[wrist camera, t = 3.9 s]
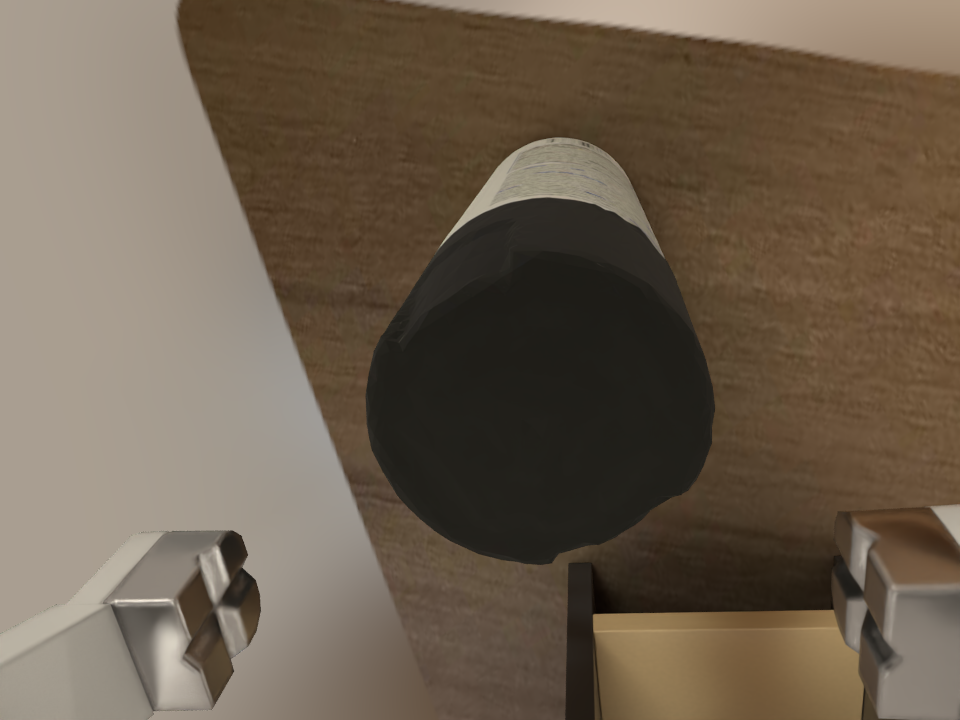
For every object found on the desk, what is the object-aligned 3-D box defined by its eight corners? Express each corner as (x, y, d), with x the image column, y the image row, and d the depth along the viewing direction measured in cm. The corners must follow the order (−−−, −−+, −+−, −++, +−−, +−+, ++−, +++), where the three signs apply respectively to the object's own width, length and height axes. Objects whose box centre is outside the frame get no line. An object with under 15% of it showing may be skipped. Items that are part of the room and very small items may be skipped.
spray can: (452, 192, 32) (280, 381, 14) (585, 98, 30) (594, 171, 11) (536, 314, 34) (485, 628, 15) (668, 233, 31) (793, 486, 13)
